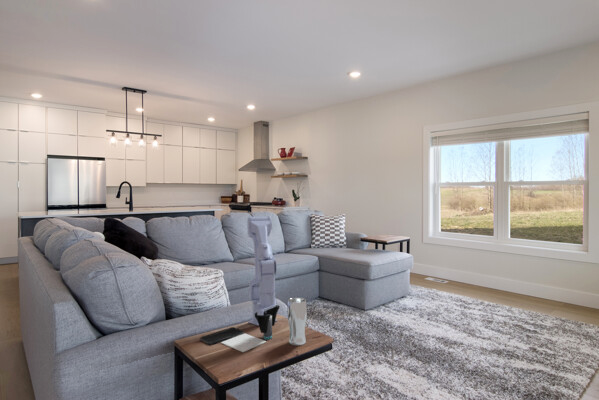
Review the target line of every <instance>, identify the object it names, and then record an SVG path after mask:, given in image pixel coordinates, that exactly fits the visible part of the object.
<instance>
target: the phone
mask: <svg viewBox="0 0 599 400" xmlns="http://www.w3.org/2000/svg"><path fill="white" fill-rule="evenodd" d="M242 334H244V331H243V330H241V329H239V328H237V327H234V326H233V327H229V328H228V327H227V328H225V329H222V330H219V331H216V332H213V333H210V334H207V335H203V336H201V337H200V339H199V340H201V342H202V341H203V342H202V343H204V342H205V344H206V343H207V344H206V345H208V346H214V345H217V344H219V343H220V344H221V342H223V341H226V340H228V339H231V338H234V337H236V336H239V335H242Z"/></svg>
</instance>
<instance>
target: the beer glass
mask: <svg viewBox="0 0 599 400" xmlns="http://www.w3.org/2000/svg"><path fill="white" fill-rule="evenodd" d="M307 308H308V307H307V300H306V298H304V297H291V298H289V299H287V310H286V313H287V316H286V317H287V321H288V327H289V339H288V343H289V344H290V345H292V346H302V345H305V344H306V341H307V340H306V339H307V338H306V333H305V330H306V325H307V324H306V323H307V318H308V317H307V315H308V313H307V312H308V309H307Z"/></svg>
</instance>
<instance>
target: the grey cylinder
mask: <svg viewBox="0 0 599 400" xmlns="http://www.w3.org/2000/svg"><path fill="white" fill-rule="evenodd" d="M262 334H263V340H265V341H266V340H267V341H268V340H272V339H273V326H272V316H270V318H269V322H268V330H267V333H262Z"/></svg>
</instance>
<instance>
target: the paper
mask: <svg viewBox="0 0 599 400" xmlns="http://www.w3.org/2000/svg"><path fill="white" fill-rule="evenodd" d="M267 341H268V340H267ZM267 341H266V340H265V339H262V338H260V337H259V338H258V337H255V336H253V335H250V334H248V333H244V334H242V335H239V336H236V337H234V338H231V339H228V340H226V341H223V342H220V344H223V345H224V346H226V347H229V348H231V349H235V350H236V351H239V352H241V353H245V352H247V351H250V350H252V349H254V348H256V347H259V346H261V345H263V344H265V343H267Z"/></svg>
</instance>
